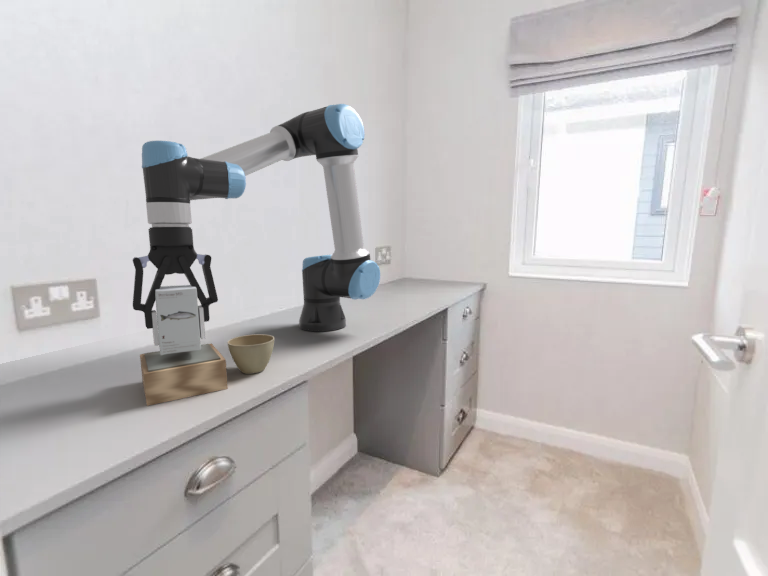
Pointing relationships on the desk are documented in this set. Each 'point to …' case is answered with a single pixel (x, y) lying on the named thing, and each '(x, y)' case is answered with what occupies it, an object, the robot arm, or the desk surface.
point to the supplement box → (177, 319)
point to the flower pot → (251, 352)
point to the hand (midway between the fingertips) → (180, 340)
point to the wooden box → (182, 374)
